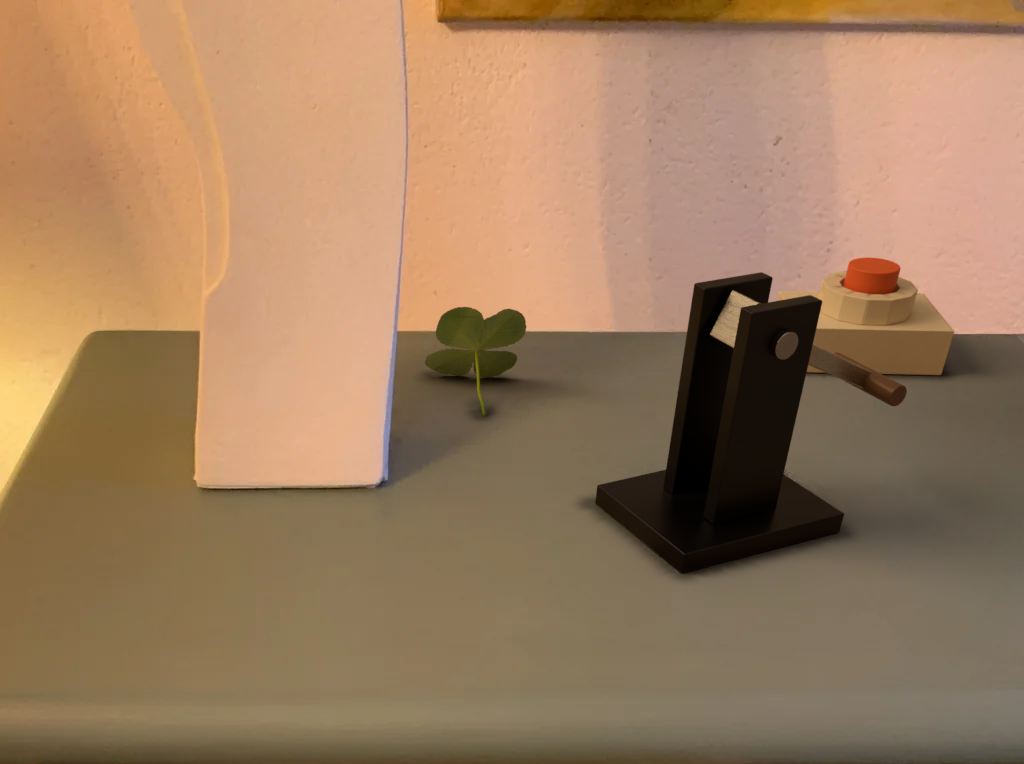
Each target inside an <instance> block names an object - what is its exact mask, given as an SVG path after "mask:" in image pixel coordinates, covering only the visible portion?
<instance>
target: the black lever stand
mask: <svg viewBox="0 0 1024 764" xmlns="http://www.w3.org/2000/svg"><path fill="white" fill-rule="evenodd" d="M772 285H773V276H771V275H769V274H767V273H765V272H763V271H761V272H753V273H749V274H742V275H735V276H730V277H725V278H717V279H713V280H706V281H701V282H694V285H693V290H692V297H691V303H690V310H689V317H688V323H687V324H688V325H687V329H686V336H685V344H684V349H683V355H682V362H681V369H680V375H679V381H678V387H677V395H676V400H675V401H676V402H675V408H674V416H673V421H672V428H671V436H670V440H669V441H670V442H669V447H668V454H667V459H666V460H667V461H666V467H665V469H663V470H657V471H653V472H649V473H645V474H640V475H636V476H632V477H627V478H623V479H620V480H614V481H609V482H605V483H601V484H597V485H596V493H595V505H597V506H598V507H600V508H601V509H602V510H603V511H604V512H605V513H607V515H609V516H610V517H612V518H613V519H614V520H615V521H617V522H618V524H620V525H621V526H623V527H624V528H625V529H626V530H628V531H629V532H630V533H631V534H632V535H634V536H635V537H636V538H637V539H639V540H640V541H641V542H642V543H644V544H645V545H646V546H647V547H648V548H649V549H651V550H652V551H653V552H654V553H656V554H657V555H658V556H660V558H662V559H663V560H664V561H665V562H667V563H668V564H669V565H670V566H672V567H673V568H674V569H676V570H677V571H678V572H679V573H680V574H684V573H688V572H693V571H695V570H700V569H704V568H706V567H710V566H711V567H712V566H714V565H719V564H723V563H726V562H730V561H734V560H739V559H742V558H745V557H749V556H752V555H756V554H760V553H764V552H769V551H772V550H775V549H780V548H783V547H787V546H791V545H794V544H799V543H802V542H807V541H810V540H813V539H814V540H815V539H818V538H821V537H826V536H829V535H832V534H836V533H840V532H841V528H842V524H843V519H844V516H845V512H843V511H841V510H840V509H838V508H836V507H835V506H834V505H832V504H830V503H829V502H827V501H826V500H824V499H822V498H821V497H819V496H818V495H817V494H815V493H813V492H812V491H810V490H808V489H807V488H806V487H804V486H803V485H801V484H799V482H797V481H795V480H793V479H792V478H790V477H788V476H787V475H786V474H785V469H786V465H787V460H788V457H789V452H790V448H791V443H792V439H793V434H794V429H795V425H796V422H797V416H798V412H799V408H800V403H801V399H802V394H803V391H804V385H805V381H806V377H807V373H808V372H807V368H808V364H809V359H810V355H811V350H812V346H813V341H814V337H815V333H816V328H817V324H818V319H819V315H820V310H821V306H822V300H820V299H818V298H816V297H814V296H811V295H808V296H802V297H797V298H791V299H785V300H780V301H777V300H776V301H771V302H770V301H769V300H770V295H771V289H772ZM732 290H734V291H737V292H739V293H741V294H743V295H745V296H747V297H749V298H751V299H753V300H755V301H758V302H760V303H762V304H757V305H751V306H746V307H742V308H741V311H740V316H739V322H738V327H737V333H736V338H735V344H734V348H732V347H730V346H728V345H727V344H725V343H723V342H721V341H719V340H718V339H716V338H714V337H712V336H710V333H711V331H712V329H713V327H714V325H715V323H716V321H717V319H718V317H719V315H720V313H721V311H722V309H723V307H724V305H725V303H726V301H727V300H728V298H729V296H730V294H731V292H732Z"/></svg>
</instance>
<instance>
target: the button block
mask: <svg viewBox="0 0 1024 764" xmlns="http://www.w3.org/2000/svg"><path fill="white" fill-rule="evenodd" d="M846 273H847V270H844V271H838V272H833V273H829V274H828V275H827V276H826V277H824V278H823V279H822V280H821V285H820V290H819V291H813V290H812V291H811V290H806V291H805V290H778V293H777V298H776V301H780V300H785V299H791V298H797V297H802V296H808V295H811V296H814V297H816V298H818V299H820V300H822V306H821V310H820V315H819V319H818V324H817V328H816V333H815V337H814V341H813V344H814V345H817V346H819V347H821V348H823V349H825V350H827V351H830V352H832V353H836V352H839V353H841V354H843V355H845V356H847V357H849V358H851V359H853V360H855V361H857V362H859V363H861V364H863V365H865V366H866V367H868V368H870V369H872V370H874V371H876V372H878V373H880V374H882V375H906V376H907V375H910V376H911V375H913V376H915V375H916V376H942V374H943V372H944V371H943V370H944V367H945V364H946V361H947V358H948V354H949V351H950V348H951V345H952V341H953V339H954V335H955V330H954V329H953V327H952V326H951V325H950V323H948V321H947V320H946V319H945V318H944V316H943V315H942V314H941V313H940V312H939V310H938V309H937V308H936V306H935V305H934V304H933V303H932V302H931V300H930V299H929V298H928V297H927V296H926V294H925V293H919V292H918V291H919V289H918V288H917V286H916V285H914V283H913V282H912V281H911V280H909V279H906V278H903V277H901V276H898V280H897V284H896V288H895V292H894V293H890V294H885V295H883V294H865V293H860V292H855V291H852V290H849V289H847V288H845V287H843V285H844V281H845V277H846ZM806 373H814V374H815V373H816V374H817V373H819V374H820V373H821V374H824V373H825V374H827V373H826V372H824V371H821V370H819V369H817V368H815V367H812V366H810V365H808V368H807V372H806Z"/></svg>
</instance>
